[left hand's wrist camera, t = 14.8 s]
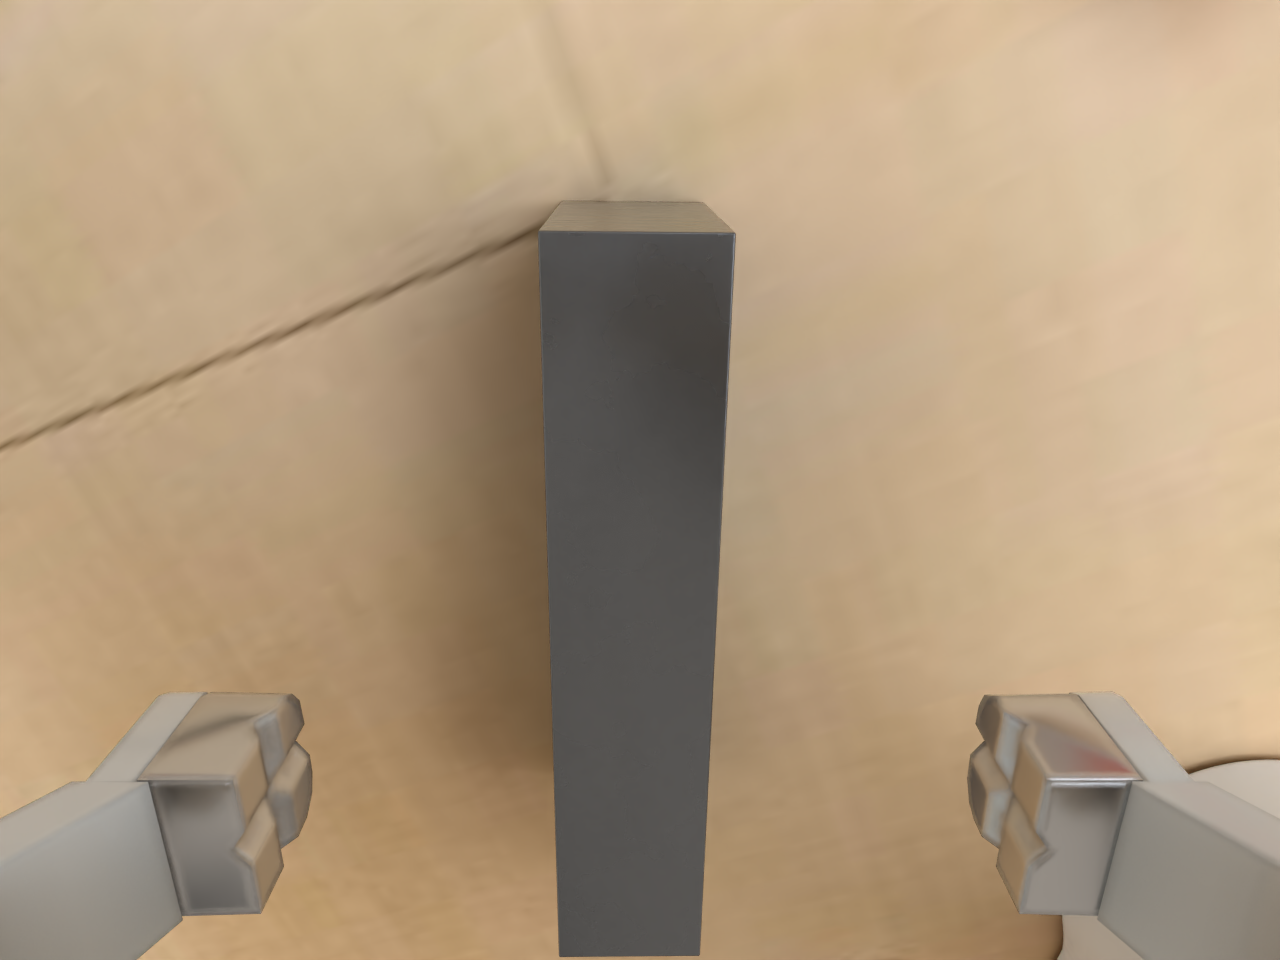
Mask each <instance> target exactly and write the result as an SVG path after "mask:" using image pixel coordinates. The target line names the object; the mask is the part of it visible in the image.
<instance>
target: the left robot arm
mask: <svg viewBox="0 0 1280 960" xmlns="http://www.w3.org/2000/svg"><path fill="white" fill-rule="evenodd" d="M303 726H304V719H303V715H302V710H301V705H300V700H298V699H297V698H296V697H295V696H294V695H293V694H277V693H230V692H210V693H207V692H168V693H165V694H162V695H159V696H158V697H157V698H156V699H155V700H154V701H153V702H152V704H151V705H150V706H149V707H148V708H147V710H146V711H145V712H144V713H143V714H142V715H141V717H140V718H139V719H138V720H137V721H136V723H135V724H134V725H133V726H132V727H131V728H130V730H129V731H128V732H127V733H126V734H125V735H124V737H123V738H122V739H121V740H120V741H119V743H118V744H117V745H116V746H115V747H114V748H113V750H112V751H111V752H110V753H109V754H108V756H107V757H106V758H105V759H104V760H103V761H102V763H101V764H100V765H99V766H98V767H97V768H96V770H95V771H94V772H93V773H92V774H91V776H90V777H89V778H88V779H87V780H86V781H85V782H70V783H68V784H66V785H64V786H62V787H60V788H59V789H57V790H55V791H53V792H51V793H49V794H47V795H45V796H43V797H41V798H39V799H37V800H35V801H33V802H31V803H30V804H28V805H26V806H24V807H22V808H20V809H18V810H16V811H14V812H12V813H10V814H8V815H6V816H4V817H2V818H1V819H0V960H137V959H138V958H139V957H140V956H141V955H143V954H144V953H145V952H146V951H147V950H148V949H150V948H151V947H152V946H153V945H154V944H155V943H157V942H158V941H159V940H160V939H161V938H162V937H164V936H165V935H166V934H167V933H168V932H169V931H171V930H172V929H173V928H174V927H175V926H176V925H178V924H179V923H180V922H181V921H182V920H183V918H182V916H198V915H233V914H261V913H262V911H263V908H264V906H265V904H266V902H267V900H268V898H269V896H270V894H271V892H272V890H273V888H274V886H275V884H276V882H277V880H278V878H279V875H280V873H281V871H282V869H283V867H284V864H283V859H282V853H281V848H283V847H284V846H286V845H287V844H288V843H290V842H291V841H293V840H294V839H295V838H297V837H298V836H299V834H300V831H301V829H302V827H303V825H304V822H305V820H306V818H307V814H308V810H309V805H310V800H311V795H312V767H311V760H310V755H309V754H308V753H307V752H306V751H305V750H304V749H303V748H302V747H301V746H300V745H299V744H298V743H297V742H296V741H295V740H296V738H297V737H298V735H299V733H300V731H301V729H302V727H303ZM976 726H977V727H978V729H979V731H980V733H981V735H982V737H983V738H984V740H985V741H984V742H983V743H982V744H981V745H980V746H979V747H978V748H977V749H976V750H975V751H974V752H973V753H972V754H971V755H970V761H969V769H968V777H967V781H968V793H969V803H970V807H971V810H972V814H973V817H974V820H975V823H976V825H977V827H978V829H979V831H980V834H981V836H982V837H983V838H985V839H986V840H987V841H989V842H990V843H992V844H993V845H994V846H996V847H997V848H999V853H998V859H997V864H996V867H997V869H998V871H999V873H1000V875H1001V878H1002V880H1003V882H1004V884H1005V886H1006V888H1007V890H1008V892H1009V894H1010V896H1011V898H1012V900H1013V902H1014V904H1015V906H1016V908H1017V910H1018V912H1019V914H1045V915H1062V924H1063V947H1062V951H1061V952H1060V954H1059V956H1058V958H1057V960H1280V760H1250V761H1240V762H1234V763H1228V764H1223V765H1218V766H1214V767H1210V768H1207V769H1203V770H1200V771H1197V772H1194V773H1191V774H1188V773H1187V772H1186V771H1185V770H1184V769H1183V767H1182V766H1181V765H1180V764H1179V763H1178V761H1177V760H1176V759H1175V758H1174V757H1173V756H1172V754H1171V753H1170V752H1169V751H1168V750H1167V749H1166V747H1165V746H1164V745H1163V744H1162V743H1161V741H1160V740H1159V739H1158V738H1157V737H1156V736H1155V734H1154V733H1153V732H1152V731H1151V730H1150V729H1149V727H1148V726H1147V725H1146V724H1145V723H1144V721H1143V720H1142V719H1141V718H1140V717H1139V716H1138V714H1137V713H1136V712H1135V711H1134V710H1133V709H1132V707H1131V706H1130V705H1129V704H1128V703H1127V701H1126V700H1125V699H1124V698H1123V697H1122V696H1120V695H1118V694H1116V693H1114V692H1112V691H1108V692H1077V693H1069V694H1012V695H984V697H983V699H982V701H981V703H980V705H979V708H978V713H977V719H976Z"/></svg>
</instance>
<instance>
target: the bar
mask: <svg viewBox="0 0 1280 960" xmlns="http://www.w3.org/2000/svg"><path fill="white" fill-rule="evenodd" d="M735 240H736V234H735V232H734V231H733V230H732V229H731V228H729V227H728V226H727V225H726V224H725V223H724V222H723V221H722V220H721V219H720V218H719V217H718V216H717V215H716V214H715V213H714V212H713V211H712V210H711V209H710V208H708V207H707V206H706V205H705V204H704V203H703V202H627V201H561V203H560V204H559V205H558V206H557V208H556V209H555V210H554V212H553V213H552V214H551V215H550V217H549V218H548V219H547V221H546V222H545V223H544V225H543V226H542V227H541V228H540V230H539V231H538V251H539V286H540V320H541V354H542V389H543V423H544V457H545V492H546V526H547V560H548V595H549V629H550V663H551V698H552V732H553V766H554V801H555V835H556V869H557V904H558V938H559V956H560V957H607V956H699V955H700V941H701V921H702V901H703V881H704V861H705V841H706V821H707V801H708V781H709V761H710V741H711V721H712V701H713V681H714V661H715V641H716V621H717V601H718V581H719V561H720V540H721V520H722V500H723V480H724V460H725V440H726V420H727V400H728V380H729V360H730V340H731V320H732V300H733V280H734V260H735Z"/></svg>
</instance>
